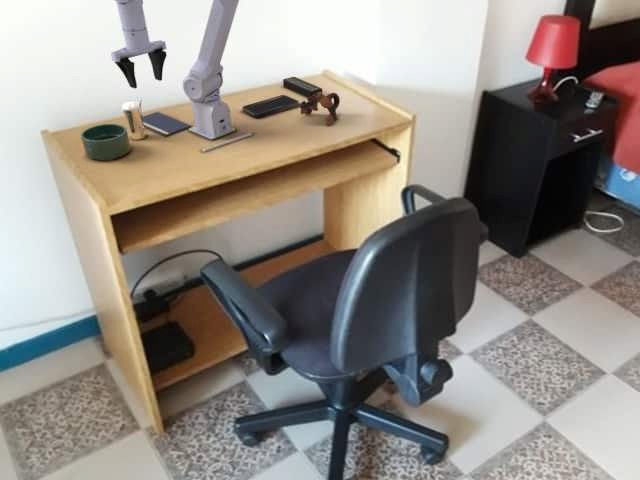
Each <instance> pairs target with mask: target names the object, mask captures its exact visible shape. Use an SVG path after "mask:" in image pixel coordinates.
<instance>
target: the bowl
mask: <svg viewBox="0 0 640 480" xmlns="http://www.w3.org/2000/svg"><path fill="white" fill-rule="evenodd" d="M80 138H81V142H82V144H83V149H84V151H85V155H86V156H87V157H88V158H90V159H92V160H98V161H108V160H115V159H118V158H121V157H123V156H124V155H127V154H128V153H129V152H130V151H131V149H132V146H131V142H130V138H129V133H128V129H127V127H125V126H124V125H121V124H118V123H103V124H97V125H94V126H91V127H88V128H86V129H84V130H83V131H82V132H81V133H80Z"/></svg>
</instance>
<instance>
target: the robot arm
mask: <svg viewBox="0 0 640 480" xmlns="http://www.w3.org/2000/svg"><path fill="white" fill-rule="evenodd" d="M114 1H115V2H116V6H117V12H118V16H119V21H120V24H121V25H120V26H121V30H122V33H123V39H124V42H125V43H124V44H125V46H124V47H122V48H120V49H117V50H114V51H112V52H111V51H110V57H111V61H112V62H114V64H115V65H116V66H117V67H118V68H119V70H120V71H121V72H122V74H123V76H124V77H125V79H126V81H127V83H128V86H129V87H130V88H132V89H138V84H137V80H136V73H135V64H136V63H135V62H134V61H131V59H130V58H134V57H138V56H142V55H146V54H147V55H148V58H149V61H150V64H151V66H152V72H153V76H154V79H155V80H157V81H159V82H161V81H163V72H164V71H163V70H164V65H165V61H166V58H167V56H168V55H167V51H165V50H167V44H166V41H165V40H162V39H159V40H155V41H150V37H149V31H148V27H147V22H146V16H145V11H144V7H143V5H144V0H114ZM239 2H240V0H212V4H211V7H210V10H209V15H208V18H207V22H206V26H205V29H204V33H203V36H202V41H201V44H200V47H199V52H198V54H197V55H198V56H197V59H196V60H195V62H194V63H193V65H192V66H191V67H190V69H189V73H188V75H186V76H185V77H184V79H183V80H182V90H183V92H184V94H185V95H186V96H187V97H188V99H189V101H190V102H191V107H192V108H191V109H192V114H193V119H194V125H195V126H191V127H190V128H188V130H189V132H192V133H195V134H197V135H199V136H202V137H204V138H206V139H208V140H215V139H218V138H220V137H223V136H226V135H228V134H231V133H232V132H236V129H235V128H234V127H233V122H232V117H231V109H230V106H229V105H228V104H227V103H226V102H224V101H223V100H222V98H221V94H220V93H221V90H220V89H221V88H222V86H223V84H224V77H223V71H224V66H223V65H222V64H221V62H222V59H223V55H224V52H225V49H226V45H227V42H228V39H229V36H230V33H231V28H232V26H233V22H234V18H235V15H236V12H237V8H238V5H239Z"/></svg>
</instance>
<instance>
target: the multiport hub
mask: <svg viewBox="0 0 640 480" xmlns="http://www.w3.org/2000/svg"><path fill="white" fill-rule="evenodd" d="M282 84H283V88H285V89H287V90H289V91H292V92H294V93H296V94H298V95H300V96H303V97H305V98H307V99H308V98H309V97H311V96H312V95H314V94H316V93H318V92H322V93H323V88H322V87H320V86H317V85H315V84H313V83H310V82H308V81H306V80H303V79H301V78H298V77H296V76H291V77H287V78H283V79H282Z"/></svg>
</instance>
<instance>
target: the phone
mask: <svg viewBox="0 0 640 480" xmlns="http://www.w3.org/2000/svg"><path fill="white" fill-rule="evenodd" d="M299 103H300V102H299V100H298V99H296V98H293V97H291V96H288V95H285V94H280V95H277V96H274V97H270V98H267V99H264V100H260V101H257V102H253V103H250V104H246V105H243V106H242V112H243V113H245V114H246V115H249V116H251V117H253V118H255V119H261V118H265V117H267V116H271V115H274V114H276V113H280V112H283V111H286V110H289V109H293V108H296V107H299V105H300V104H299Z"/></svg>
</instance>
